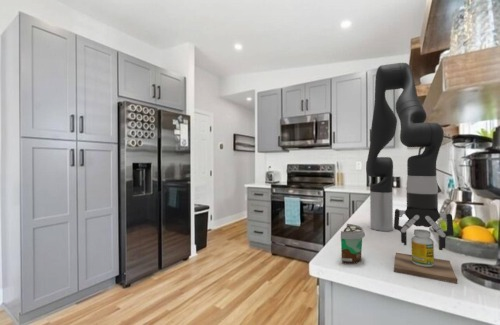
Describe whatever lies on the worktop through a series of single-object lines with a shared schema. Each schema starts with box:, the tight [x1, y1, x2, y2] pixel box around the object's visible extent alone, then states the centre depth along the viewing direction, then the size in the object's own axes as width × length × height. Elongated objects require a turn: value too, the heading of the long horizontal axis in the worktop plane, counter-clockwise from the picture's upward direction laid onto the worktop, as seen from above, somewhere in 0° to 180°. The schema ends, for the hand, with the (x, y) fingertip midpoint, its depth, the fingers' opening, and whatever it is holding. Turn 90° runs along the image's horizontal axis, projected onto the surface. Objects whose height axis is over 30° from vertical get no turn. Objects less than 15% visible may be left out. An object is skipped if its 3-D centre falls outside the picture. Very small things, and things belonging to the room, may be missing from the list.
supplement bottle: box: [411, 228, 435, 267], centre depth 74 cm, size 5×5×10 cm
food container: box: [340, 223, 366, 265], centre depth 81 cm, size 12×6×10 cm, turn 151°
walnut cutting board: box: [393, 252, 458, 284], centre depth 74 cm, size 14×14×1 cm
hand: (422, 246), depth 74 cm, fingers open, 8 cm apart
